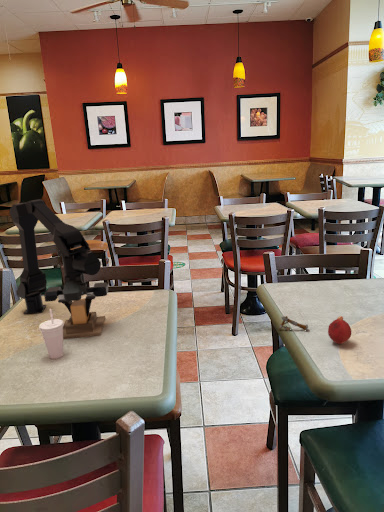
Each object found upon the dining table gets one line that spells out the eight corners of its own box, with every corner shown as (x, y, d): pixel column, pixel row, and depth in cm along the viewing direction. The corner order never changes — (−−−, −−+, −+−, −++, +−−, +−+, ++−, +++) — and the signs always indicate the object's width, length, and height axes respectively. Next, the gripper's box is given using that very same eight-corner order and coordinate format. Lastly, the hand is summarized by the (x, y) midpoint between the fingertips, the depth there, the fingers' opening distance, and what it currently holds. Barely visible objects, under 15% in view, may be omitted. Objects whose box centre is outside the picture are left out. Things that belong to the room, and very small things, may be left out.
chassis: (66, 322, 132) (64, 313, 131) (105, 318, 133) (104, 309, 132) (57, 339, 119) (55, 329, 119) (100, 335, 120) (99, 325, 120)
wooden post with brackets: (276, 326, 117) (282, 313, 115) (301, 336, 116) (307, 323, 115) (276, 328, 115) (282, 315, 114) (301, 339, 114) (308, 326, 113)
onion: (339, 351, 102) (340, 323, 100) (323, 342, 107) (323, 315, 105) (355, 345, 104) (356, 317, 102) (338, 337, 109) (339, 310, 107)
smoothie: (61, 362, 106) (52, 314, 103) (39, 360, 108) (31, 313, 104) (72, 350, 112) (65, 304, 109) (52, 349, 114) (44, 304, 110)
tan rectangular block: (77, 319, 128) (74, 299, 126) (89, 318, 129) (86, 298, 127) (73, 327, 123) (70, 306, 121) (86, 326, 123) (83, 305, 121)
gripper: (35, 281, 113) (44, 331, 117) (101, 275, 114) (107, 324, 118) (45, 270, 123) (53, 316, 127) (105, 264, 125) (111, 310, 129)
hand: (80, 316), depth 125 cm, fingers closed on tan rectangular block, 4 cm apart
